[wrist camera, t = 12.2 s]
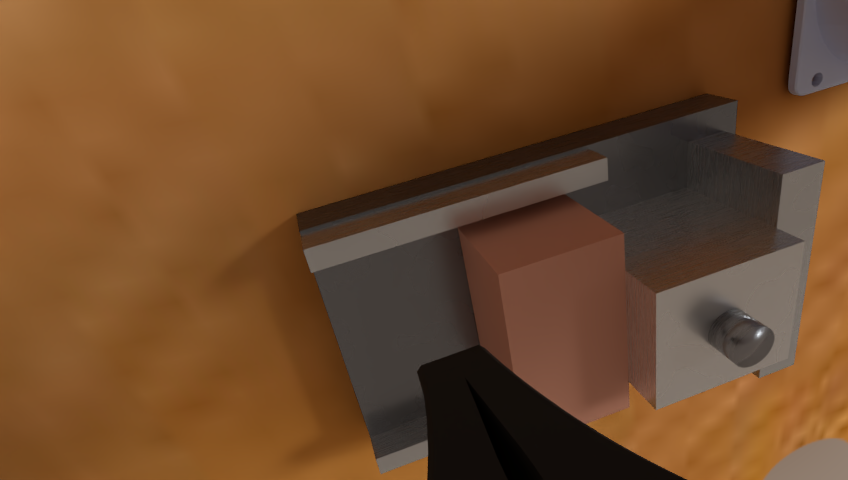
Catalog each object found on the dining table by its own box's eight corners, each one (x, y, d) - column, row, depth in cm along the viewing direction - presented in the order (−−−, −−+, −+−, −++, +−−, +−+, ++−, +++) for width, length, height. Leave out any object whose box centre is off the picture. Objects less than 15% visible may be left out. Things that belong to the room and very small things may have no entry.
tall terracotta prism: (564, 193, 19) (624, 233, 16) (577, 349, 22) (629, 406, 19) (457, 227, 18) (498, 274, 15) (487, 382, 21) (525, 447, 18)
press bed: (707, 93, 21) (844, 124, 16) (697, 306, 25) (801, 379, 20) (296, 213, 18) (310, 293, 13) (368, 425, 23) (398, 541, 18)
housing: (687, 187, 20) (837, 255, 15) (683, 286, 22) (815, 377, 17) (566, 226, 19) (680, 312, 14) (575, 325, 21) (677, 432, 16)
